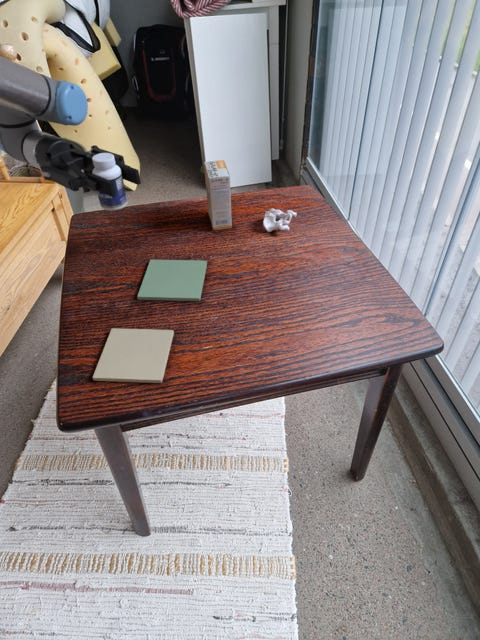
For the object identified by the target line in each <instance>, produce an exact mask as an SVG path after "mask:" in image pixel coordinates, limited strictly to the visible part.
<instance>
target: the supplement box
mask: <svg viewBox="0 0 480 640" xmlns="http://www.w3.org/2000/svg"><path fill="white" fill-rule="evenodd" d="M203 166H204V167H203V168H204V180H205V181H204V183H205V193H206V204H207V205H206V206H207V213H208V218H209V220H210V223H211V228H212V230H213V231H220V230H229V229H232V228H233V223H232V222H233V221H232V218H233V217H232V197H231V196H232V195H231V175H230V173H229V170H228V167H227V165H226V162H225V160H224V159H220V160H209V161H204V162H203Z"/></svg>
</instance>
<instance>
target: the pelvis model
mask: <svg viewBox="0 0 480 640" xmlns="http://www.w3.org/2000/svg"><path fill="white" fill-rule="evenodd" d="M264 212H265V213H264V216H263V220H262V225H263V228H264V229H265V231H267V232H268V233H272V231H277V230H279V231H290V223H291V220H292V219H293V217H294V218H297V216H298V215H297V214H298V213H297V212H295V211H293V210H291V209H288V210H286V213H285V212H283V211H282V210H281V209H275V208H273V207H272V208H269V209H268V211H267V210H265V211H264ZM287 219H288V220H287Z"/></svg>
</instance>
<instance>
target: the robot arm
mask: <svg viewBox="0 0 480 640" xmlns="http://www.w3.org/2000/svg"><path fill="white" fill-rule="evenodd" d="M88 108H89V103H88V99H87V95H86V93H85V91H84V90H83V88H82V87H81V86H80V85H78V84H77V83H75V82H74V83H73V82H69V81H67V80H58V79H54V78H52V77H51V76H47V75H45V74H42V73H40V72H38V71H36V70H33V69H31V68H29V67H27V66H24V65H22V64H20V63H17V62H15V61H13V60H10V59H9V58H6V57H3V56H2V55H0V149H1V151H2V152H3V153H5V154H6V155H8V156H9V157H11V158H12V159H14V160H16V161H20V162H23V163H26V164H27V165H28V164H29V165H30V166H32V167H35V168H38V169H39V170H40V171H41V173H42V174H41V175H42V176H43V179H44V180H45V181H49V182H54V183H55V184H58V185H59V186H61V187H63V188H65V189H68V190H70V191H72V192H78V191H80V188H82V190H83V193H90V192H91V191H93V192H97V191H99V192H102V193H104V194H106V195H109V196H111V197H115V196H116V192H115V188H114V183H113V182H112V181H109V180H107V179H104V178H102V177H99V176H97V175H94V174H92V172H91V171H93V169H94V168H95V167H94V165H93V160H92V157H93V156H94V155H96V154H100V153H111V154H113V155H114V158H115V165H117V166H119V167H120V169H121V173H122V177H123V181H126V182H129V183H131V184H135V185H137V186H139V185H141V184H142V182H141V176H140V171H139V169H137V168H134V167H132V166H130V165H128V164H126V163H125V158H124V155H121V154H118V153H115V152H112V151H110V150H109V151H108V150H106V149H102V148H100V147H99V146H98V145H91V146H90V150H86V151H85V149H81V148H80V149H79V148H76V147H75V145H73V143H71V141H69V140H67V139H64V138H62V137H59V136H56V135H55V134H50V133H48V132H45V131H42V130H41V129H40V128H39V125H38V121H43V122H49V123H54V124H59V125H62V126H74V127H75V126H79V125H81V124H82V123H83V122H84V121H85V120H86V118H87V117H88ZM83 171H85V172H86V171H87V172H89V173H87V174H86V173H85V172H83Z"/></svg>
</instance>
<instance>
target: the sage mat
mask: <svg viewBox="0 0 480 640" xmlns="http://www.w3.org/2000/svg"><path fill="white" fill-rule="evenodd" d="M207 266H208V260H198V259H197V260H195V259H190V260H189V259H149V262H148V265H147V268H146V271H145V273H144V276H143V279H142V282H141V285H140V288H139V291H138V293H137V296H136V298H137V300H139V301H171V302H173V301H174V302H176V301H178V302H201V298H202V294H203V293H202V292H203V287H204V282H205V277H206V272H207Z"/></svg>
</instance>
